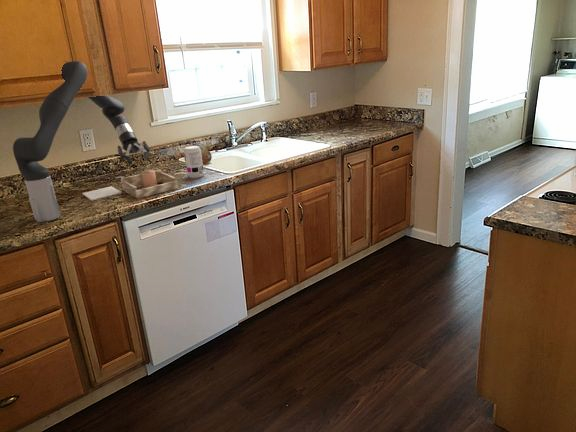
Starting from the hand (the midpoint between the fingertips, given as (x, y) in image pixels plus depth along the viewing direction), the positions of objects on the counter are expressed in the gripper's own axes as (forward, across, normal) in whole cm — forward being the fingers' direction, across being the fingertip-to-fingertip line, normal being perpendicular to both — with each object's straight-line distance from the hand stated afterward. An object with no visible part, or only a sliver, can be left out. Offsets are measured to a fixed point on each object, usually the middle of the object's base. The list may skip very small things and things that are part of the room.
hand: (139, 161), depth 216 cm
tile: (+6, -19, +12) cm, 23 cm away
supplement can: (+12, +26, +6) cm, 29 cm away
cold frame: (+14, 0, +3) cm, 14 cm away
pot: (+15, 0, +2) cm, 15 cm away
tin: (-3, +39, +20) cm, 44 cm away
